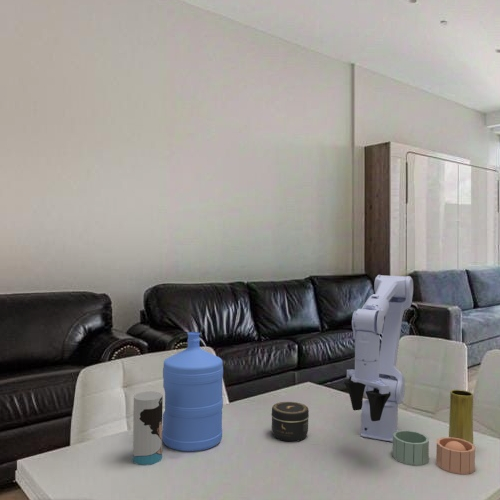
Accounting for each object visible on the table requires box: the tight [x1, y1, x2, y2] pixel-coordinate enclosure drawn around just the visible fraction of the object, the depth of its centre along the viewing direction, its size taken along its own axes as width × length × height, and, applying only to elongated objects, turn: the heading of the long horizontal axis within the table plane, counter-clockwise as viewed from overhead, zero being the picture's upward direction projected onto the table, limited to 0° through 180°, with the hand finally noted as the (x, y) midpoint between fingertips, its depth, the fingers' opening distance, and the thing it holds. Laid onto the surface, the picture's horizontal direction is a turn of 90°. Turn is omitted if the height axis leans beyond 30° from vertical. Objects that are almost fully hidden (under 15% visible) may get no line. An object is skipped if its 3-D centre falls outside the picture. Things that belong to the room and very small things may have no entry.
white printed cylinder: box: [132, 390, 164, 466], centre depth 114 cm, size 7×7×15 cm
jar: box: [271, 401, 310, 443], centre depth 129 cm, size 10×10×8 cm
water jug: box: [162, 331, 224, 452], centre depth 125 cm, size 16×16×28 cm
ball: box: [445, 441, 466, 451], centre depth 112 cm, size 5×5×5 cm
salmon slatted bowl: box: [435, 436, 476, 475], centre depth 112 cm, size 8×8×5 cm
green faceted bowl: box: [392, 429, 430, 466], centre depth 116 cm, size 8×8×5 cm
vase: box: [448, 389, 474, 445], centre depth 122 cm, size 6×6×14 cm
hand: (366, 414), depth 116 cm, fingers open, 7 cm apart
